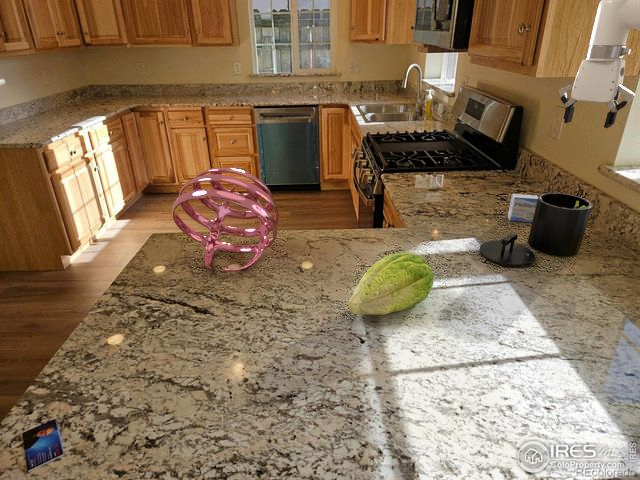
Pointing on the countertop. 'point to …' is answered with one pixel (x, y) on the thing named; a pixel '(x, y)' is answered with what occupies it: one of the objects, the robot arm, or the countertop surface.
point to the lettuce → (392, 285)
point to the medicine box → (522, 208)
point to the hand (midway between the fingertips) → (586, 124)
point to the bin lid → (507, 252)
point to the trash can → (559, 224)
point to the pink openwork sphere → (228, 213)
